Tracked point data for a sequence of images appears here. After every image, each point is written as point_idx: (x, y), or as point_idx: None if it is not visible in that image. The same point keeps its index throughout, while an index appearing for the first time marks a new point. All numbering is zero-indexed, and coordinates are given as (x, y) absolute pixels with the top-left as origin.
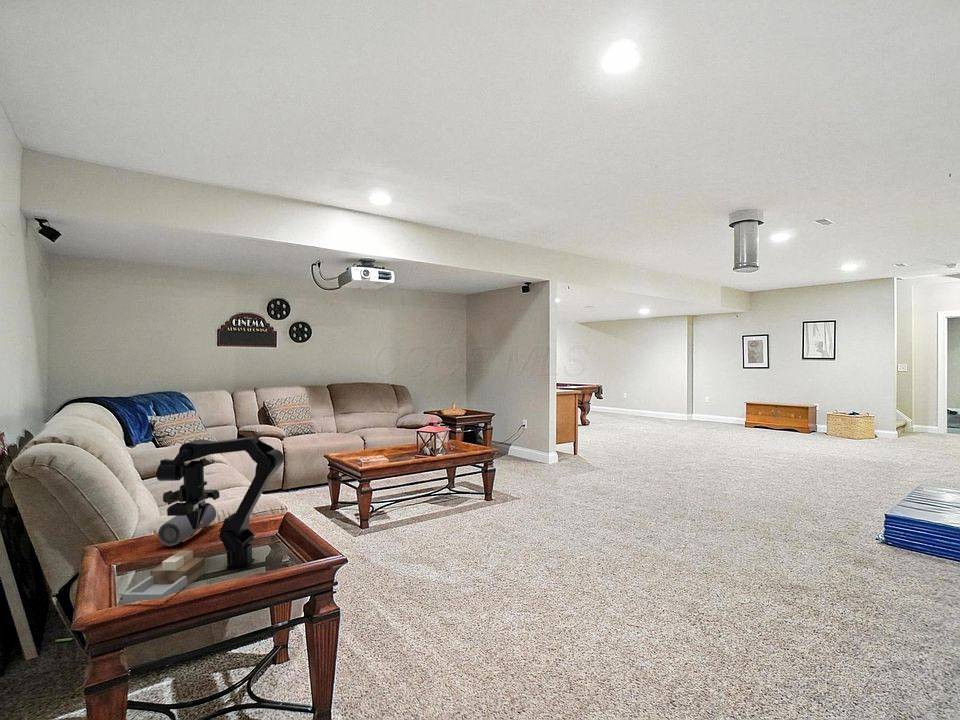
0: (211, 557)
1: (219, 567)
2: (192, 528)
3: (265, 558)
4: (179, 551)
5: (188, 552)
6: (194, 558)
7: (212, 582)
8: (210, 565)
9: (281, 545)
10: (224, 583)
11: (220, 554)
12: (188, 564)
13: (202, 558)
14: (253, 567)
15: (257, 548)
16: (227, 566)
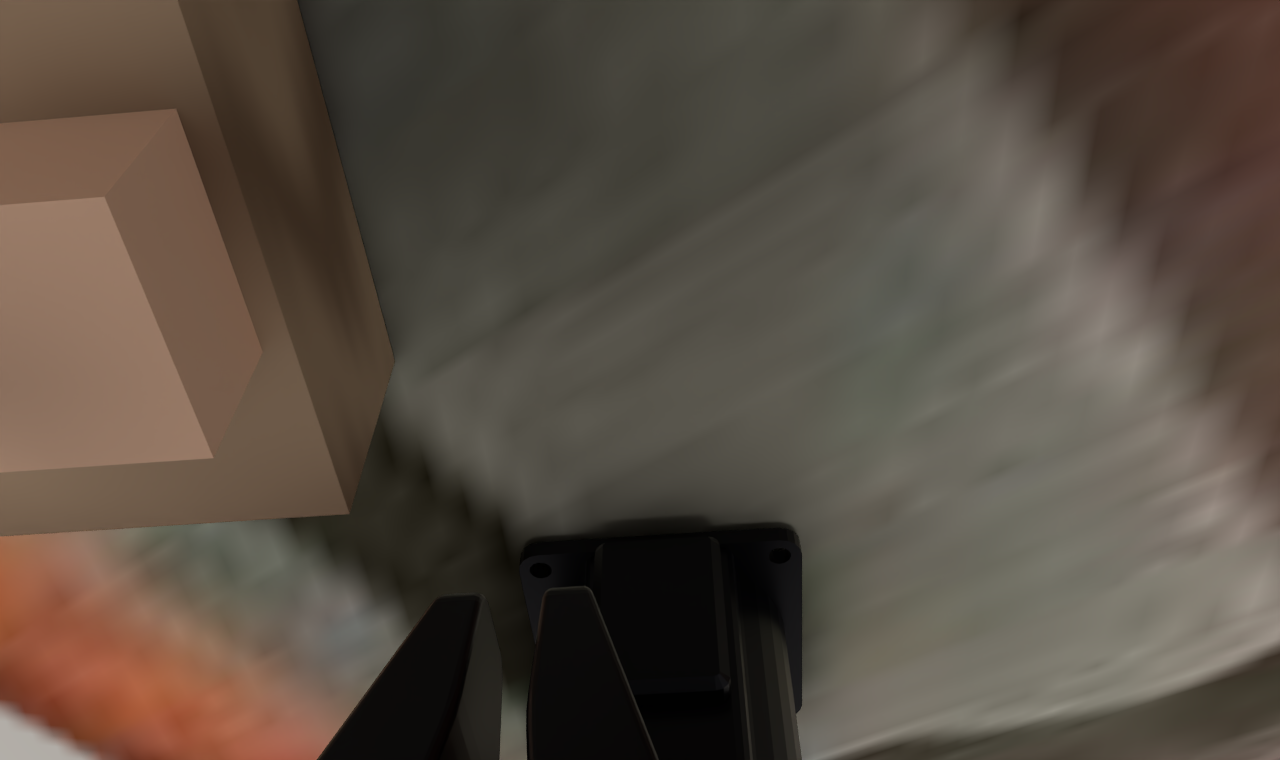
0: (951, 108)
1: (571, 443)
2: (429, 609)
3: (862, 749)
4: (57, 218)
5: (94, 446)
6: (274, 374)
7: (174, 586)
8: (623, 291)
9: (1256, 741)
10: (201, 692)
11: (1075, 184)
12: None
13: (311, 497)
14: None
15: (1222, 560)
16: (554, 564)
